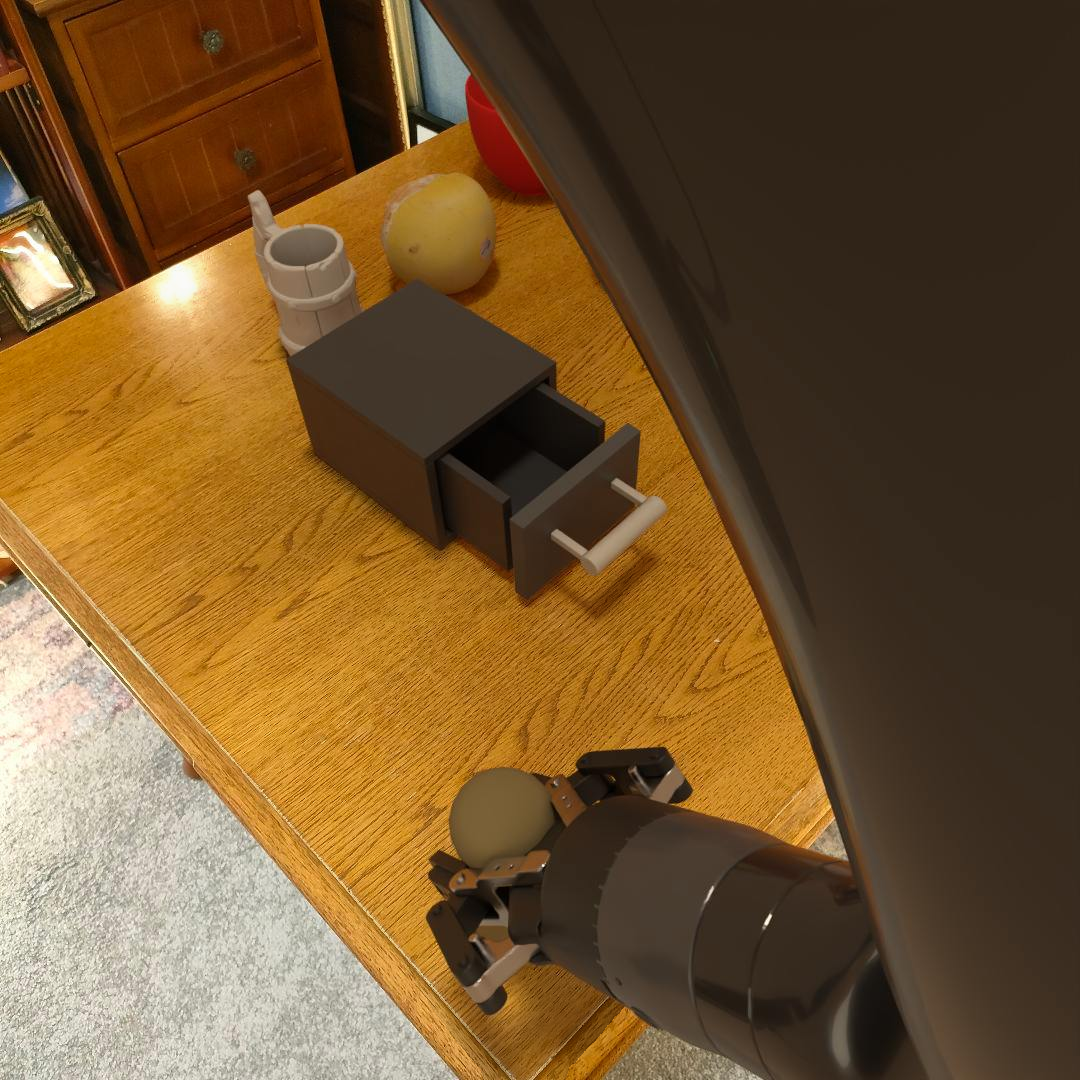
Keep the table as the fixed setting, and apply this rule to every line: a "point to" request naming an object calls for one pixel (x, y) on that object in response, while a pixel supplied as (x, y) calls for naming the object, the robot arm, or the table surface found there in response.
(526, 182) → the ceramic cup
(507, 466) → the drawer
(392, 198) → the fruit
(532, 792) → the pepper shaker
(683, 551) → the table surface
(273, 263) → the mug
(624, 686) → the table surface
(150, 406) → the table surface
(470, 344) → the small storage chest
